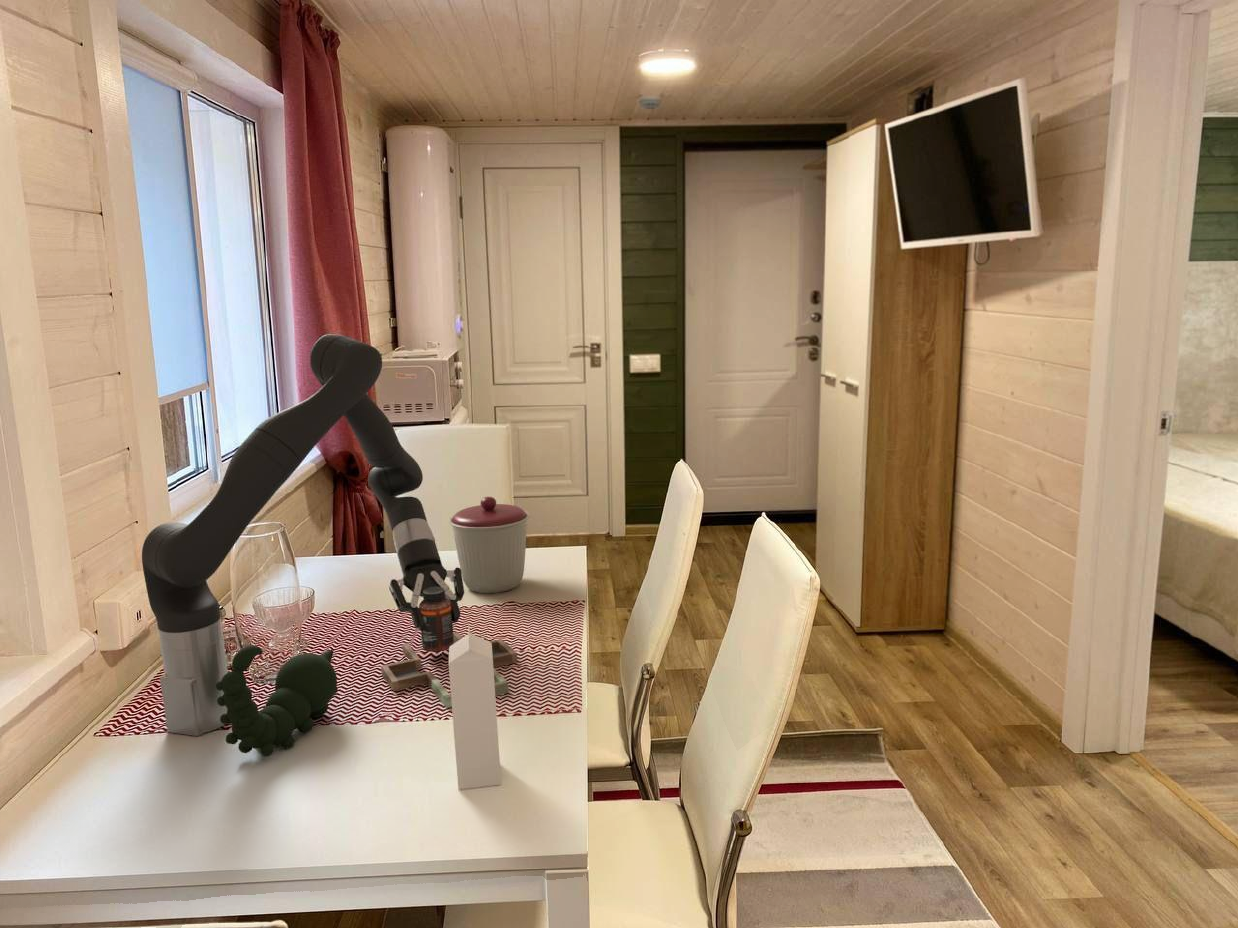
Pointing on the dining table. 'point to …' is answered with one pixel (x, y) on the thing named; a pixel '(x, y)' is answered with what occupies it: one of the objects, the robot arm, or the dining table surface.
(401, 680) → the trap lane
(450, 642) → the supplement bottle
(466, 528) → the canister
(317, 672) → the toy figurine
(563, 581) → the dining table surface
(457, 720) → the milk
